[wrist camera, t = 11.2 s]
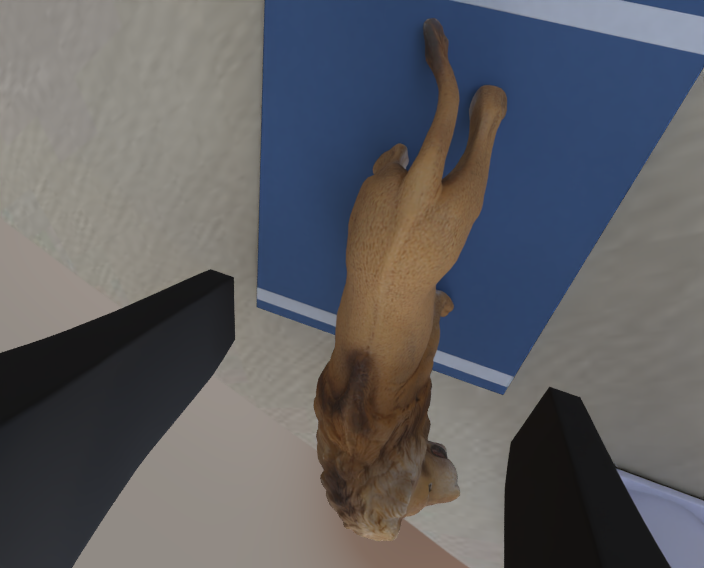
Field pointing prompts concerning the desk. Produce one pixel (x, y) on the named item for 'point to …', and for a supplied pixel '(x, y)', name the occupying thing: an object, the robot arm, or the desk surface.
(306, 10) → the towel
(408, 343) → the lion figurine
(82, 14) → the desk surface
